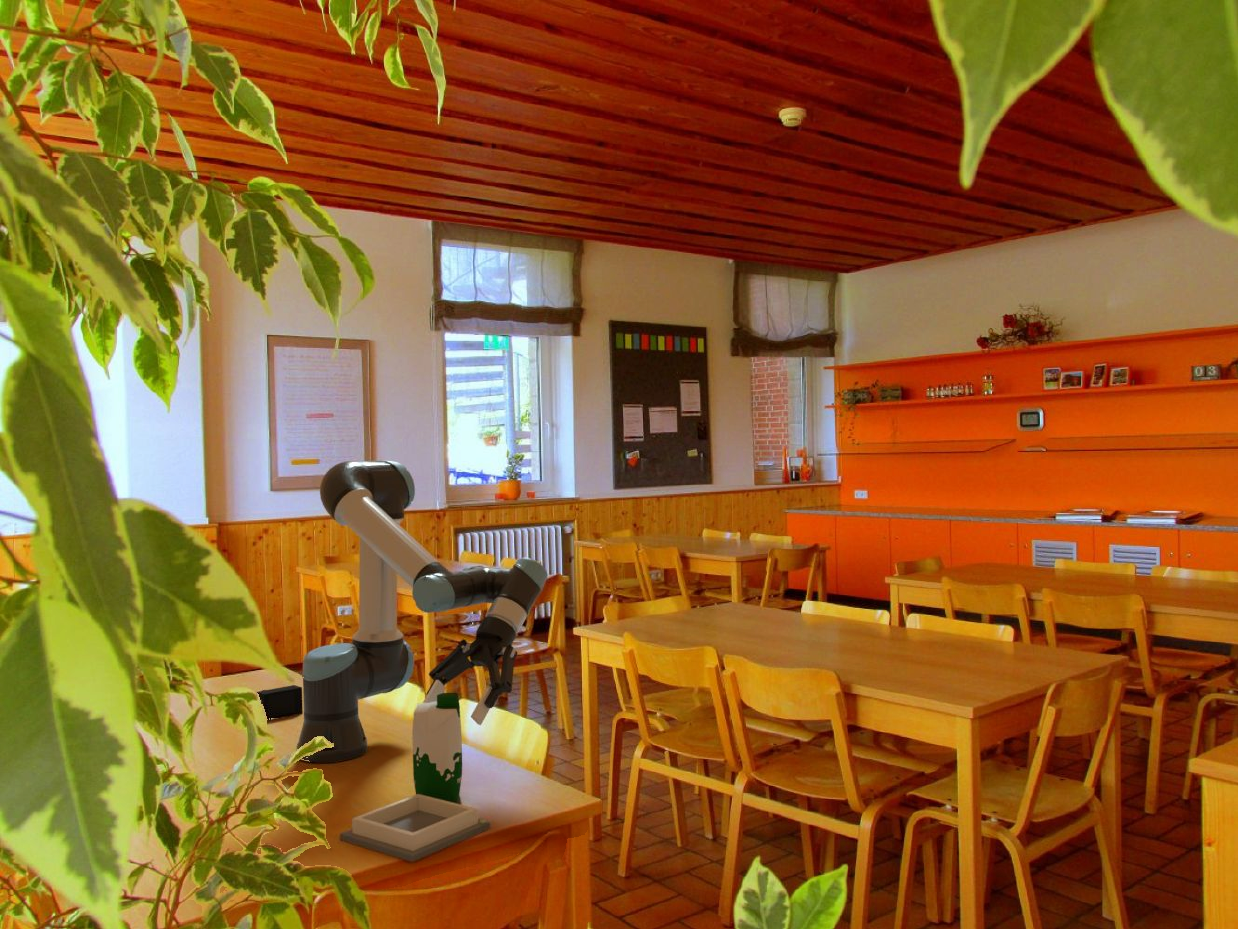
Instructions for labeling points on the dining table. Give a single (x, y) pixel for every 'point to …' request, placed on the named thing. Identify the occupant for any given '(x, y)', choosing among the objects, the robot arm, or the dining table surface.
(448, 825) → the dock
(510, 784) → the dining table surface
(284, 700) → the digital camera
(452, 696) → the soya milk
